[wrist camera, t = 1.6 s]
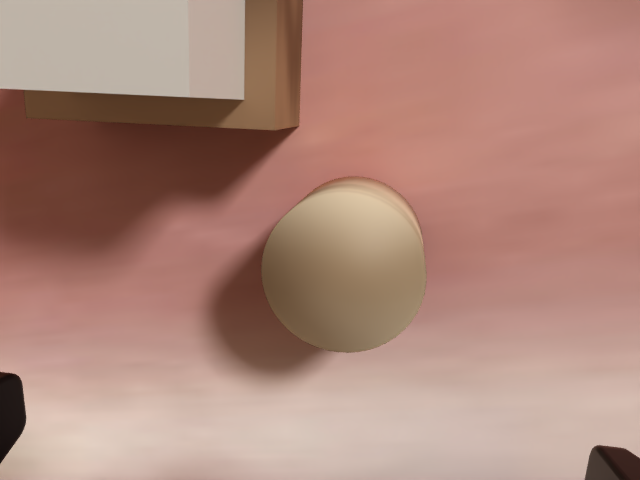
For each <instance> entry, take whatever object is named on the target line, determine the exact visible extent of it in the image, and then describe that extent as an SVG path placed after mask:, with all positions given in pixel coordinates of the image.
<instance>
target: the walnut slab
mask: <svg viewBox="0 0 640 480" xmlns="http://www.w3.org/2000/svg"><path fill="white" fill-rule="evenodd" d="M302 14H303V0H245V60H244V100H238V99H216V98H194V97H173V96H151V95H130V94H108V93H86V92H65V91H43V90H24V99H25V110H26V118H36V119H56V120H76V121H96V122H117V123H137V124H157V125H178V126H198V127H218V128H238V129H259V130H279V129H285V128H290V127H296V126H299V115H300V81H301V48H302Z"/></svg>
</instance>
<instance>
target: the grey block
mask: <svg viewBox="0 0 640 480" xmlns="http://www.w3.org/2000/svg"><path fill="white" fill-rule="evenodd" d="M244 60H245V0H0V89H22V90H43V91H65V92H86V93H108V94H130V95H151V96H173V97H194V98H216V99H238V100H244Z"/></svg>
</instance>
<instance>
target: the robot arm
mask: <svg viewBox="0 0 640 480" xmlns="http://www.w3.org/2000/svg"><path fill="white" fill-rule="evenodd" d="M25 424H26V411H25V403H24V394H23V386H22V381H21V379H20V377H19V376H17V375H16V374H12V373H4V372H0V463H1V462H2V461H3V459H4V458H5V456H6V455H7V454H8V452H9V451H10V449H11V448H12V447H13V445H14V444H15V442H16V441H17V440H18V438H19V437H20V435H21V434H22V432H23V430H24V427H25ZM585 480H640V458H639V457H637V456H636V455H634V454H633V453H631V452H630V451H628V450H626V449H624V448H618V447H610V446H601V445H597V446H595V447H594V448H593V449H592V451H591V453H590V456H589V461H588V466H587V471H586V476H585Z"/></svg>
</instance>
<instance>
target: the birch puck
mask: <svg viewBox="0 0 640 480" xmlns="http://www.w3.org/2000/svg"><path fill="white" fill-rule="evenodd" d="M261 274H262V283H263V288H264V292H265V295H266V298H267V300H268V303H269V305H270V307H271V309H272V310H273V312H274V313H275V315H276V317H277V318H278V319H279V320H280V321H281V323H282V324H283V325H284V326H285V327H286V328H287V329H288V330H289V331H290V332H291V333H293V334H294V335H296V336H297V337H298V338H300V339H301V340H303V341H305V342H307V343H308V344H311V345H313V346H315V347H318V348H321V349H325V350H328V351H334V352H347V353H349V352H360V351H365V350H370V349H373V348H376V347H379V346H381V345H383V344H385V343H387V342H389V341H390V340H392V339H393V338H395V337H396V336H398V335H399V334H400V333H401V332H402V331H403V330H404V329H405V328H406V327H407V326H408V325H409V324H410V323H411V321H412V320H413V318H414V317H415V315H416V314H417V312H418V310H419V308H420V306H421V303H422V300H423V297H424V294H425V288H426V265H425V256H424V248H423V240H422V231H421V228H420V224H419V221H418V219H417V216H416V214H415V212H414V211H413V209H412V207H411V206H410V204H409V203H408V202H407V201H406V199H405V198H404V197H403V196H402V195H401V194H400V193H398V192H397V191H396V190H394V189H393V188H391V187H390V186H388V185H386V184H384V183H382V182H380V181H377V180H374V179H370V178H365V177H343V178H338V179H334V180H331V181H329V182H326V183H324V184H322V185H320V186H319V187H317V188H315V189H314V190H313V191H312V192H310V193H309V194H308V195H307V196H306V197H305V198H304V199H303V200H301V201H300V202H299V203H298V204H297V205H296V206H295V207H294V208H293V209H291V210H290V211H289V212H288V213H287V214H286V215H285V216H284V217H283V218H282V219H281V220H280V221H279V222H278V224H277V225H276V226H275V228H274V229H273V231H272V232H271V234H270V236H269V238H268V240H267V243H266V246H265V248H264V252H263V257H262V266H261Z"/></svg>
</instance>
